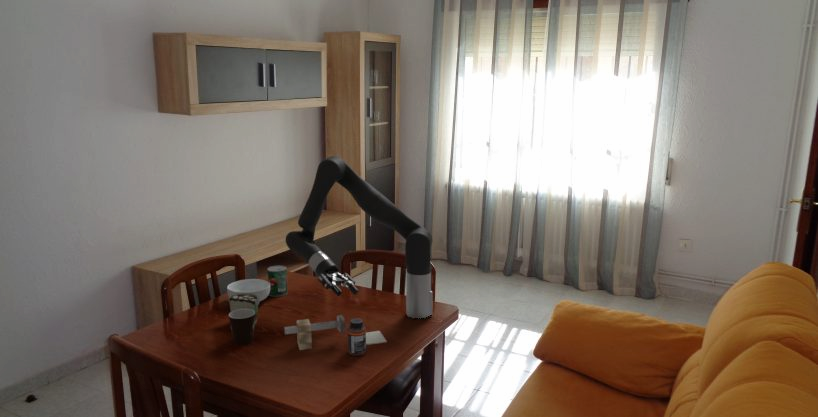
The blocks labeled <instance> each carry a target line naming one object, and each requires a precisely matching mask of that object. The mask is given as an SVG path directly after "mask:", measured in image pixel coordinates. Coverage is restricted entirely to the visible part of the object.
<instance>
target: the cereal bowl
mask: <svg viewBox="0 0 818 417" xmlns="http://www.w3.org/2000/svg"><path fill="white" fill-rule="evenodd" d="M226 291H227V292H226V293H227V296H228V297H229V296H231V295H234V294H238V293H252V294H255V295H257V296H258V298H259V302H262V301H264V300H265V299H267V297H268V296H270V295H269V293H270V283H269V282H268V280H265V279H259V278H248V279H246V278H245V279H240V280H237V281H234V282H231V283H229V284H227V287H226Z"/></svg>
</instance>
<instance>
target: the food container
mask: <svg viewBox="0 0 818 417" xmlns="http://www.w3.org/2000/svg"><path fill="white" fill-rule="evenodd" d="M227 302H229V308H230V312H232V311H234V310H238V309H251V310H253V311H255V320H254V327H255V326H256V325H257V324H258V306H259V305H260V301H259V298H258V296H257V295H255V294H252V293H238V294H234V295H231V296H228V298H227Z"/></svg>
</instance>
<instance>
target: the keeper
mask: <svg viewBox="0 0 818 417" xmlns="http://www.w3.org/2000/svg"><path fill="white" fill-rule="evenodd" d="M311 324H312V323H311V322H310V318H306V319H305V318H304V319H297V320H296V326H298V333H296V337H297V338H296V339H297V341H296V342H297V346H298V350H299V351H304V350H312V349H313V348H312V347H313V344H312V331H311Z"/></svg>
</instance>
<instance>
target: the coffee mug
mask: <svg viewBox="0 0 818 417" xmlns="http://www.w3.org/2000/svg"><path fill="white" fill-rule="evenodd" d="M228 318H229V319H228V320H229V324H230V329H231V335H232V341H233V344H235V345H237V346H246V345H249V344H251V343H253V342H254V335H255V334H254V331H255V326H254V320H255V311H253V310H251V309H238V310H234V311H232V312H231V311H230V312H229V313H228Z"/></svg>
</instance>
